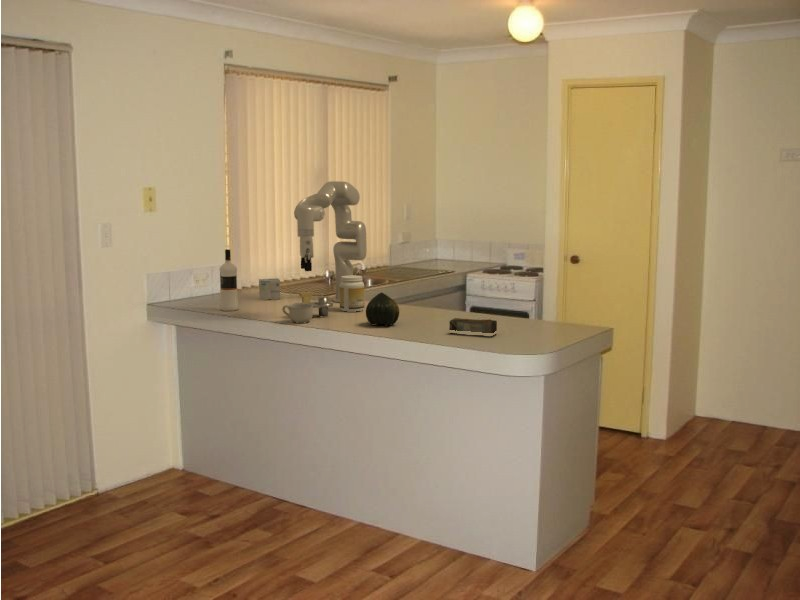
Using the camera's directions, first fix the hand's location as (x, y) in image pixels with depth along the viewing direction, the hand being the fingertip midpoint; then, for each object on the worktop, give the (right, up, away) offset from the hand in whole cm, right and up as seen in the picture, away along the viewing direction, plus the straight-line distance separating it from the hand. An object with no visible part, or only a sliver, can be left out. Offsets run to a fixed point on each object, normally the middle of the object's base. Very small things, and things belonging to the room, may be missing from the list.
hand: (306, 269), depth 373 cm
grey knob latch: (+4, -22, +4) cm, 23 cm away
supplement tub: (+20, -20, +21) cm, 35 cm away
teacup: (-3, -24, -9) cm, 26 cm away
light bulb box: (-26, -14, +56) cm, 63 cm away
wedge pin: (0, -22, +3) cm, 22 cm away
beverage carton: (+75, -29, -35) cm, 87 cm away
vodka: (-41, -19, +22) cm, 50 cm away
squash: (+36, -25, -15) cm, 46 cm away
